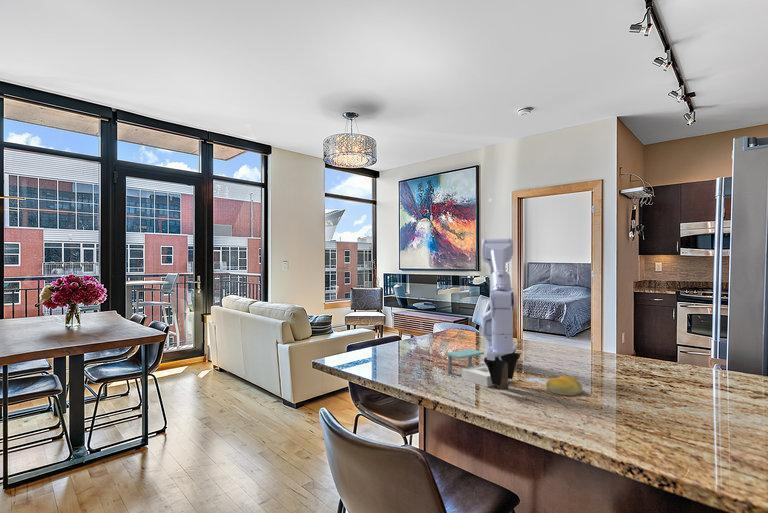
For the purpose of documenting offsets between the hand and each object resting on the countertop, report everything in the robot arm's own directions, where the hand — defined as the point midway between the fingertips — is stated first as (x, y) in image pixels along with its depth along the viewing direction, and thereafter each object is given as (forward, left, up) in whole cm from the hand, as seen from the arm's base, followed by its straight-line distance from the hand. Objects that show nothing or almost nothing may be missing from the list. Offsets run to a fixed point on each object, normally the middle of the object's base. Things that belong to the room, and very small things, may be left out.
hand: (502, 381), depth 111 cm
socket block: (-2, -8, -2) cm, 8 cm away
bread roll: (-12, +11, -2) cm, 17 cm away
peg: (0, 0, -2) cm, 2 cm away
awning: (-3, -17, -2) cm, 17 cm away
